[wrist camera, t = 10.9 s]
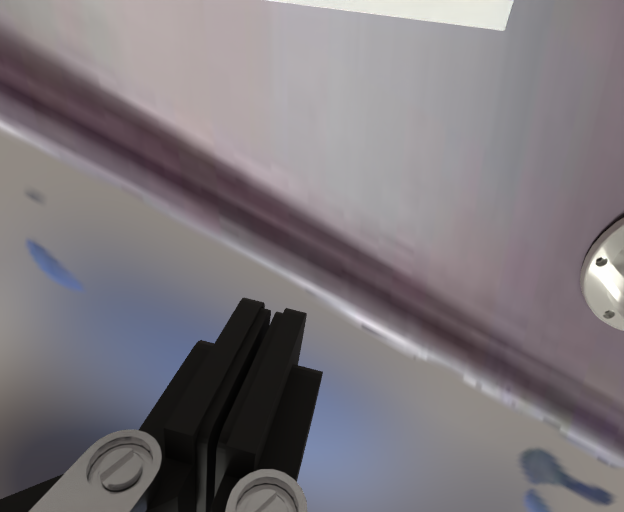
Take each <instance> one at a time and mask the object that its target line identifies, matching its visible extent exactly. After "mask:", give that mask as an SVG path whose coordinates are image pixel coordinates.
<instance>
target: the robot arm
mask: <svg viewBox="0 0 624 512" xmlns="http://www.w3.org/2000/svg"><path fill="white" fill-rule="evenodd" d="M580 284H581V290H582V294H583V296H584V298H585V300H586V302H587V304H588V305H589V307H590V308H591V310H592V311H593V313H594V314H595V315H596V316H597V317H598V318H599V319H600V320H602V321H603V322H605V323H607V324H608V325H610V326H612V327H614V328H616V329H619V330H622V331H624V218H622V219H620V220H619V221H617V222H616V223H615V224H613V225H612V226H611V227H610V228H609V229H607V230H606V231H605V232H604V233H603V234H602V235H601V236H600V237H599V238H598V240H597V241H596V242H595V243H594V244H593V245H592V247H591V249H590V251H589V252H588V254H587V256H586V257H585V260H584V263H583V266H582V269H581V277H580ZM264 307H265V305H264V303H263V302H259V301H255V300H251V299H247V298H242V300H241V301H240V303H239V304H238V306H237V307H236V309H235V311H234V312H233V314H232V316H231V317H230V319H229V321H228V322H227V324H226V326H225V327H224V329H223V331H222V332H221V334H220V336H219V337H218V339H217V341H216V342H215V344H214V343H210V342H206V341H202V340H200V341H198V342H197V343H196V345H195V346H194V347H193V349H192V350H191V352H190V353H189V355H188V356H187V358H186V359H185V361H184V362H183V364H182V365H181V367H180V368H179V370H178V371H177V373H176V374H175V376H174V377H173V379H172V380H171V382H170V383H169V385H168V386H167V388H166V390H165V391H164V393H163V394H162V396H161V397H160V399H159V400H158V402H157V403H156V405H155V406H154V408H153V409H152V411H151V412H150V414H149V415H148V417H147V418H146V420H145V421H144V423H143V424H142V426H141V427H140V429H139V430H122V431H118V432H114V433H111V434H109V435H107V436H105V437H103V438H101V439H100V440H98V441H97V442H96V443H95V444H94V445H92V446H91V447H90V448H89V449H88V450H87V451H86V452H85V453H84V454H83V455H82V456H81V457H80V458H79V459H78V460H77V461H76V462H75V463H74V464H73V465H72V467H71V468H70V469H69V470H68V471H67V472H66V473H65V474H62V475H60V476H57V477H55V478H52V479H50V480H47V481H45V482H42V483H40V484H37V485H35V486H33V487H30V488H28V489H25V490H23V491H20V492H18V493H15V494H13V495H10V496H8V497H5V498H3V499H0V512H307V504H306V498H305V496H304V493H303V491H302V488H301V487H300V486H299V485H298V483H297V478H298V474H299V470H300V466H301V462H302V458H303V454H304V450H305V446H306V442H307V437H308V434H309V430H310V426H311V421H312V417H313V413H314V409H315V405H316V400H317V396H318V391H319V387H320V383H321V378H322V374H323V372H321V371H317V370H314V369H310V368H306V367H302V366H298V361H299V355H300V350H301V344H302V339H303V333H304V327H305V322H306V313H304V312H300V311H296V310H292V309H288V308H286V309H285V310H284V312H283V313H280V312H276V313H275V315H274V317H273V319H272V322H271V324H270V316H271V310H268V309H264ZM269 324H270V326H269Z"/></svg>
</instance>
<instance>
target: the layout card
mask: <svg viewBox="0 0 624 512" xmlns="http://www.w3.org/2000/svg"><path fill="white" fill-rule="evenodd" d="M268 1H276V2H283V3H291V4H299V5H307V6H315V7H322V8H330V9H338V10H346V11H354V12H362V13H369V14H377V15H385V16H393V17H401V18H409V19H416V20H424V21H432V22H440V23H448V24H456V25H463V26H471V27H479V28H487V29H495V30H503V31H505V27H506V24H507V21H508V17H509V14H510V11H511V8H512V4H513V1H514V0H268Z"/></svg>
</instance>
